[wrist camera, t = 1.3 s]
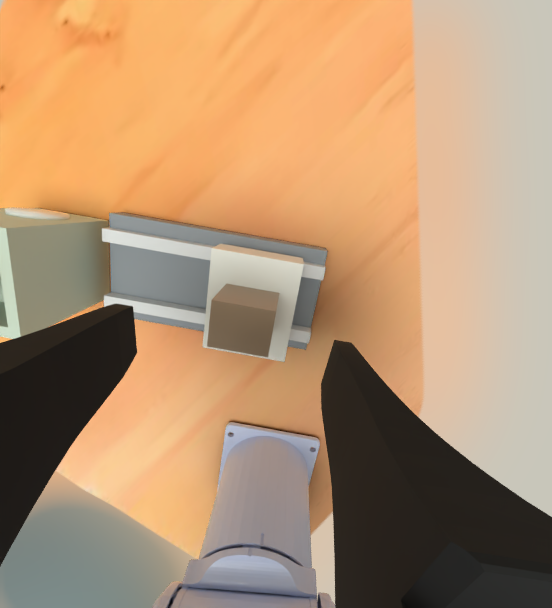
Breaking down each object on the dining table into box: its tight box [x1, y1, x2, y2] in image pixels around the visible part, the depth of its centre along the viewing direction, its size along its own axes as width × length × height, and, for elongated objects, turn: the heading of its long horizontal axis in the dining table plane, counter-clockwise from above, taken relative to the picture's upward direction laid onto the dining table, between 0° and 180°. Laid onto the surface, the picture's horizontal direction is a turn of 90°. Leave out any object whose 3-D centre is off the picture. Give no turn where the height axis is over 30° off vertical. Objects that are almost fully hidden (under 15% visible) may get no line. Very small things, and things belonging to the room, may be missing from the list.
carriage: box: [203, 244, 304, 362], centre depth 16 cm, size 6×5×5 cm
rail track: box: [102, 212, 328, 350], centre depth 20 cm, size 7×14×2 cm, turn 81°
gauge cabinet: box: [0, 208, 110, 339], centre depth 17 cm, size 6×5×8 cm
